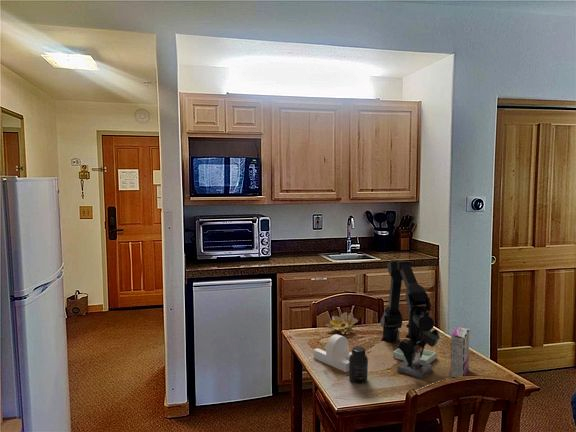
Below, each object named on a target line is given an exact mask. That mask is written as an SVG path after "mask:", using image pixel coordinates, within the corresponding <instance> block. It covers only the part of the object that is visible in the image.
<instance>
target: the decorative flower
mask: <svg viewBox="0 0 576 432" xmlns="http://www.w3.org/2000/svg"><path fill="white" fill-rule="evenodd" d="M358 322H359V320H358V318H356V317H354V314H353V313H351V312H350V313H347V312H345V311H344V312H343V313H342V314H341V315H340V316H337V315H336V316H335V315H332V317H331V320H329V323H327V324H325V326H327V327H329V328H332V329H334V330H335V331H338V332H340V333H341V334H346V333H348V334H349V335H350V334H351V333H355V332H356V330H355V329H353V328H352V326H353V325H354V324H356V323H358ZM345 332H346V333H345ZM348 334H347V335H348Z"/></svg>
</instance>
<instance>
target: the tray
mask: <svg viewBox="0 0 576 432" xmlns="http://www.w3.org/2000/svg"><path fill="white" fill-rule="evenodd" d="M392 358H393V359H396V360H400V361H403V362H404V361H405V360H406V358H405V356H404V354H403V352H402V350H400V349H399V348H397V349H395V350H394V351H393V352H392ZM436 359H437V352H436V351H432V350H430V349H429V350H428V349H425V348H424V351H423V354H422V357H421V358H420V362H423V363H427V364H430V365H431V363H432V362H433V361H434V360H436Z"/></svg>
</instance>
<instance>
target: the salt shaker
mask: <svg viewBox="0 0 576 432" xmlns="http://www.w3.org/2000/svg"><path fill="white" fill-rule="evenodd" d="M421 351H422V347H421V346H419V345H418V348H417V351H416V352H415V353H414V356H413V362H412V365H411V366H410V367H411V368H414V369H418V370H419V369H420V352H421Z"/></svg>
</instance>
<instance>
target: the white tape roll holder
mask: <svg viewBox="0 0 576 432" xmlns="http://www.w3.org/2000/svg"><path fill="white" fill-rule="evenodd" d="M349 346H350V343H349V340H348V338H347V337H345V336H343V335H340V334H333V335H331V336H330V337H329V338H328V340H327V342H326V345H325V350H323V349H321V348H318V347H317V348H314V349H313V359H315V360H318V361H320V362H322V363H324V364H326V365H328V366H331V367H334V368H336V369H337V370H340V371H342V372H344V373H349V357H350V355H351V354H352V351H349V350H350V349H349V348H350V347H349Z"/></svg>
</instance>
